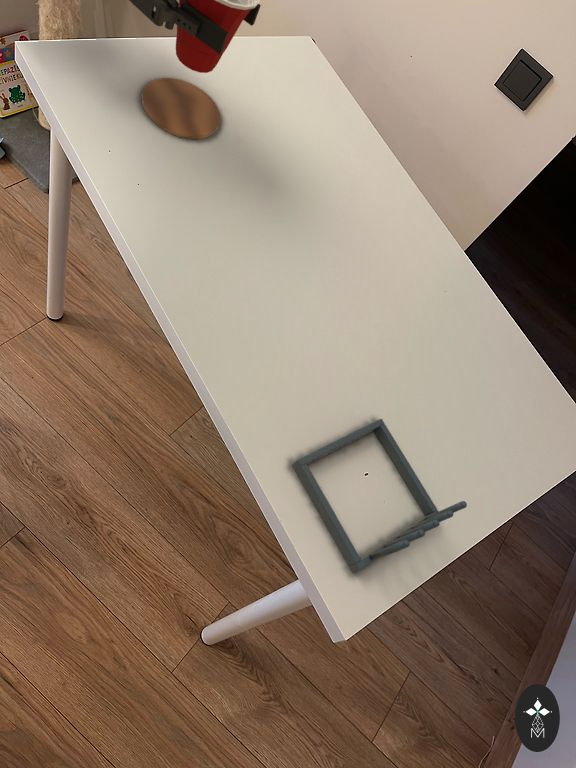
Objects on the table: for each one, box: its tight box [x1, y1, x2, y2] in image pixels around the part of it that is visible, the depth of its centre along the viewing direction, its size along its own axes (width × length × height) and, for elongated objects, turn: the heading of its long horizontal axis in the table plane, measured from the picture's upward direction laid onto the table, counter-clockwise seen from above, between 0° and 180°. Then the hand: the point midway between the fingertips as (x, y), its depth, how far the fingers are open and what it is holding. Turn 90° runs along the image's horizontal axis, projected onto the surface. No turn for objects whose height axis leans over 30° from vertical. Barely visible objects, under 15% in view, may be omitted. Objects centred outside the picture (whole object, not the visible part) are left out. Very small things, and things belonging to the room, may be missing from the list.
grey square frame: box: [291, 418, 468, 573], centre depth 70 cm, size 14×14×9 cm
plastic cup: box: [175, 0, 261, 74], centre depth 79 cm, size 11×11×12 cm
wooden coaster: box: [141, 77, 221, 140], centre depth 91 cm, size 12×12×1 cm
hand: (240, 29), depth 78 cm, fingers closed on plastic cup, 9 cm apart
